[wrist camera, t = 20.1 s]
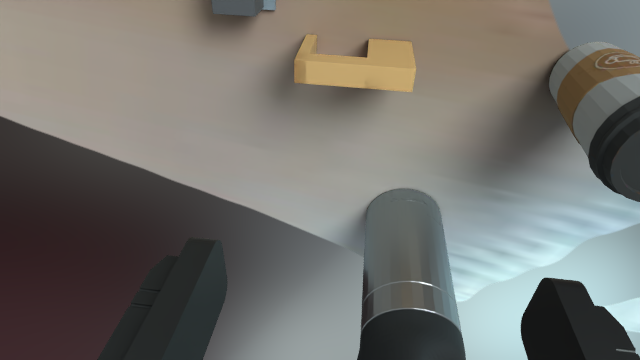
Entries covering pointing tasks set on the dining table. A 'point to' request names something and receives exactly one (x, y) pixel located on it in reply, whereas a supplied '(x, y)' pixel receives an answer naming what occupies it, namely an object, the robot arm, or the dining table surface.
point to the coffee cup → (603, 110)
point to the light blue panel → (269, 4)
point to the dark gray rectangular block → (237, 7)
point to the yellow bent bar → (358, 66)
